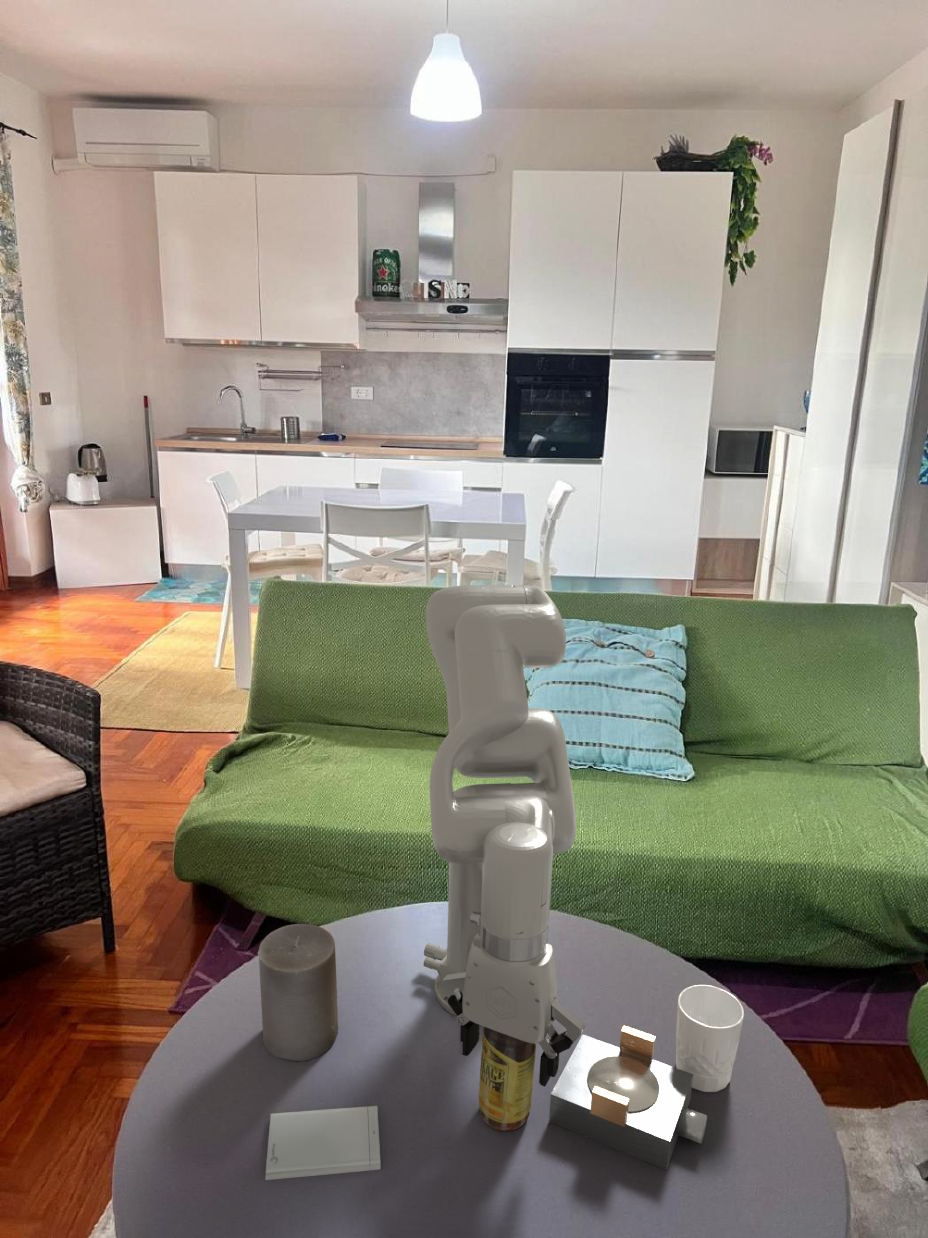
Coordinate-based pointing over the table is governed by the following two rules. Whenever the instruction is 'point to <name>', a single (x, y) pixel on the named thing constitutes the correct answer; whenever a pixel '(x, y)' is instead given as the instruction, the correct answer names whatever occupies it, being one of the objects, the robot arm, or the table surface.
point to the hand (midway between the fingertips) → (508, 1063)
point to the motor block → (626, 1098)
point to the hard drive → (323, 1142)
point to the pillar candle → (298, 991)
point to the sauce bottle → (505, 1080)
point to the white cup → (708, 1035)
